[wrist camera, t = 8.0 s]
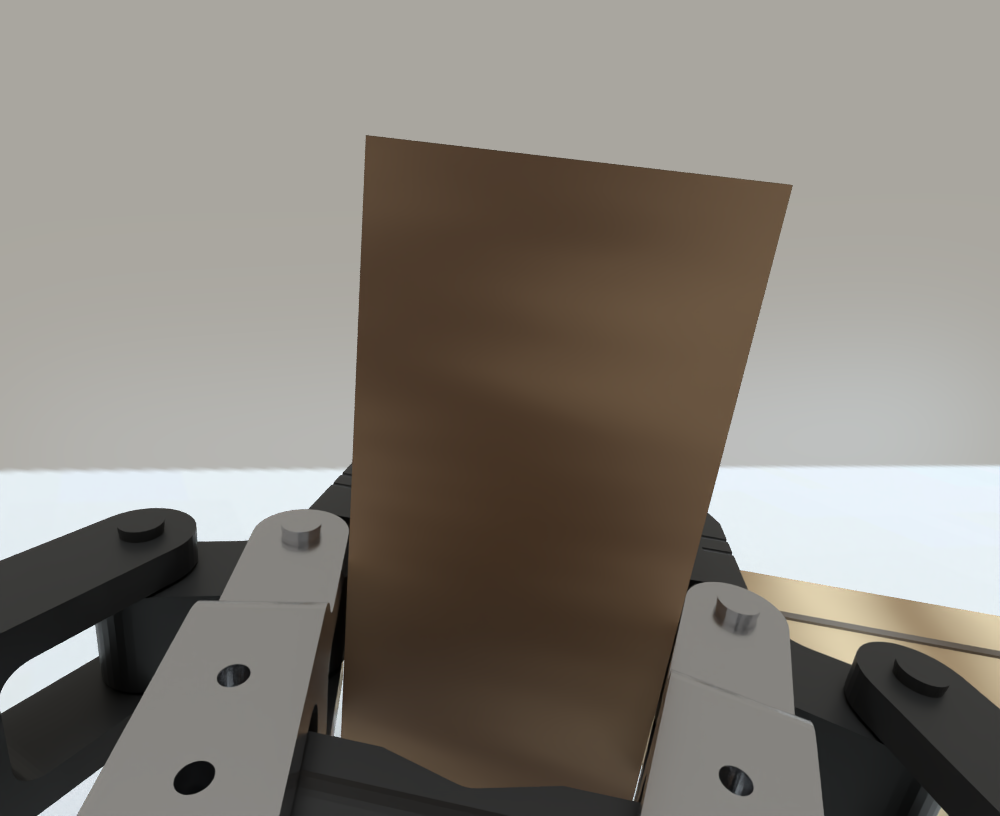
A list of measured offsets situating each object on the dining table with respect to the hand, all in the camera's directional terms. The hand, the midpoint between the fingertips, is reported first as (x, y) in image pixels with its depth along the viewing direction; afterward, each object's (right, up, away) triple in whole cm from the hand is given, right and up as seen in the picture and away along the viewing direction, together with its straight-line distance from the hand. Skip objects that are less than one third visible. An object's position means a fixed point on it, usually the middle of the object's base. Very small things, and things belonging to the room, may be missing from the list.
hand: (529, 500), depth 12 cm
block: (-1, -7, +4) cm, 8 cm away
